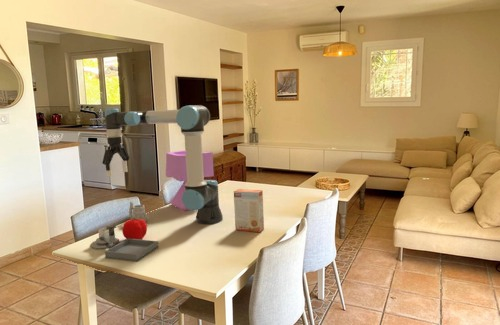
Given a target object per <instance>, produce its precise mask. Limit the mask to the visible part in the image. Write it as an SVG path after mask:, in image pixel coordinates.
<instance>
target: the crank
mask: <svg viewBox="0 0 500 325" xmlns="http://www.w3.org/2000/svg"><path fill="white" fill-rule="evenodd" d="M115 228H117V226H116V224H115V225H111V226H107V227H106V226H105V227H101V228H98V229H97V230H98V238H99V239H100V240H105V241H106V242H107V243H109V244H113V243H116V242H115V238H116V234H115Z"/></svg>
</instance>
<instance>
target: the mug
mask: <svg viewBox="0 0 500 325" xmlns="http://www.w3.org/2000/svg"><path fill="white" fill-rule="evenodd" d="M145 208H146V207H145V205H144V204H136V205H134V203H133V201H129V208H128V210H129V211H128V214H129V215H128V216H129V218H130V219H134V218H135V219H136V218H137V219H142V220H144V221H145V222H146V223H147V220H148V219H147V215H146V209H145Z"/></svg>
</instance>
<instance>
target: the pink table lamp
mask: <svg viewBox="0 0 500 325" xmlns="http://www.w3.org/2000/svg"><path fill="white" fill-rule="evenodd" d="M165 155H166V156H165V159H166V160H165V161H166V162H165V163H166V164H165V177H166V178H171V179H174V180H176V181H178V182H183V183H182V184H180V185H181V186H179V188H178V190H177V192H176V193H175V194H174V197H173V198H172V199H171V201H170V205H171V204H172V205H171V206H173V205H174V206H173V207H175V206H176V207H175V208H177V209H179V210H181V211H183V212H186V211H190V210H189V209H188V208H187V207H185V206H184V204H183V202H182V195H183V193H184V191H185V183H186V182H187V167H186V152H185V150H179V151H178V150H176V151H169V152H166V153H165ZM202 157H203V175H204V178H211V177H215V174H214V173H215V172H214V158H213V157H214V156H213V151H206V152H202Z"/></svg>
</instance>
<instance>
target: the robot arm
mask: <svg viewBox="0 0 500 325" xmlns="http://www.w3.org/2000/svg"><path fill="white" fill-rule="evenodd" d="M104 118H105V119H104V121H105V128H106V137H107V144H108V145H109V146H108V145H107V146H105V147H104V154H103V159H102V161H101V162H102V165H104V166H105V171H106V177H113V172H112V171H113V170H112V164H111V162H112V160H113V157H114V155H115V154H118V155H119V157H120V158H121V162H122V163H121V166H122V172H123V173H128V172H129V170H128V161H129V160H130V156H129V154H128V151H127V149H126V146H125V143H123V141H122V129H121V126H122V127H123V126H124V127H125V126H127V127H128V126H129V127H131V126H132V127H134V126H138V125H154V124H155V125H157V124H159V125H161V124H163V125H165V124H177V126H179V128H180V133H181V134H182V135H183V136H184V148H185V150H184V151H185V152H186V167H187V182H186V183H185V191H184V193H183V195H182V202H183V204H184V206H185V207H187V208H188V209H189V210H188V211H197V212H196V215H195V222H196V223H197V224H203V225H210V224H216V223H220V222H222V221H223V220H224V219H223V216H224V215H223V213H222V210H221V208H220V201H219V198H220V197H219V185H218V184H219V183H218V181H217V180H215V179H204V178H205V177H204V175H203V157H202V153H203V147H202V146H203V143H202V134H203V133H204V132H205V129H204V127H205V126H206V125H208V124H209V122H210V120H211V113H210V110H209V109H208V108H207V107H206V106H204V105H202V104H197V105H196V104H195V105H193V104H192V105H191V104H190V105H185V106H182V107H181V108H180V109H162V110H137V111H120V110H119V108H106V109H104Z"/></svg>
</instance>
